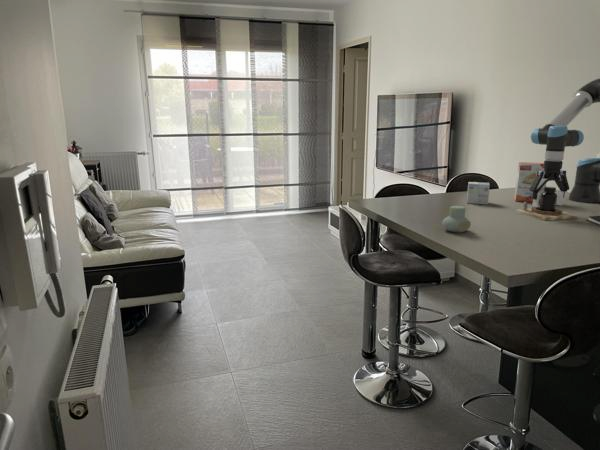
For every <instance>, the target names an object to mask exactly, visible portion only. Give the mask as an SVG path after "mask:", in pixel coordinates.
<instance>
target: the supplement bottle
mask: <svg viewBox="0 0 600 450" xmlns="http://www.w3.org/2000/svg"><path fill="white" fill-rule="evenodd" d="M556 190H557V188H556V187H554V186H546V187H544V192H543V193H542V194H541V198H540V203H539V204H538V207H539V210H540V211H548V212H555V209H556V208H557V204H556V203H557V196H558V193H556V192H557V191H556Z"/></svg>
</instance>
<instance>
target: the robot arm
mask: <svg viewBox="0 0 600 450" xmlns="http://www.w3.org/2000/svg"><path fill="white" fill-rule="evenodd" d="M595 103H600V78H596V79H593V80H591V81H590V82H588V83H586V84H584V85H583V86H582V87H580V88H579V89H577V91H576V92H574V93H573V95H572V98H571V100H569V101H568V103H566V104H565V105H564V106H563V107H562V108H561V109H560V110H558V112H557V113H556V114H555V115H554V116H553V117H552V118H551V119H550V120H549V121H548V122H547V123H545V125H544V126H543V127H541V128H540V127H539V128H534V129H533V130H532V131H531V135H530V139H531V142H532V143H533V144H536V145H545V146H546V147H545V153H544V161H543V163H544V172H543V171H538V173H537V176H536V178H535V180H534V182H533V184H532V186H531V187H530V189H529V190H530V191H532V192H533V197H532V199H533V202H532V203H531V204H532V205H531V206H532V207H539V204H540V203H539V195H540V193H538V192H539V191H540V190H541V188H542V187H543V186H544V185H545V183H546V182H547V183H548V182H550V181H551V182H552V181H554V182H555V184H556V186H557V187H558V191H557V202H556V206H563V203H564V202H563V201H564V198H565V193H567V192H568V191H569V190H570V186H569V181H568V179H567V170H564V169H562V168H563V162H564V161H563V160H564V156H565V148H566V147H577V146H580V145H581V144H582V143H583V142H584V139H585V136H584V135H585V134H584V133H583V131H581V130H579V129H568V125H569V124H570V123H572V122H573V121H574V119H576V118H577V116H579V114H581V112H583V110H584V109H587V108H589V107H591V106H592V105H593V104H595ZM547 183H546V184H547ZM568 200H570V201H573V202H581V203H589V204H590V203H591V204H594V203H600V157H591V158H590V157H589V158H588V157H587V158H580V159H578V161H577V165H576V171H575V178H574V184H573V187H572V189H571V191H570V193H569V195H568Z"/></svg>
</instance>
